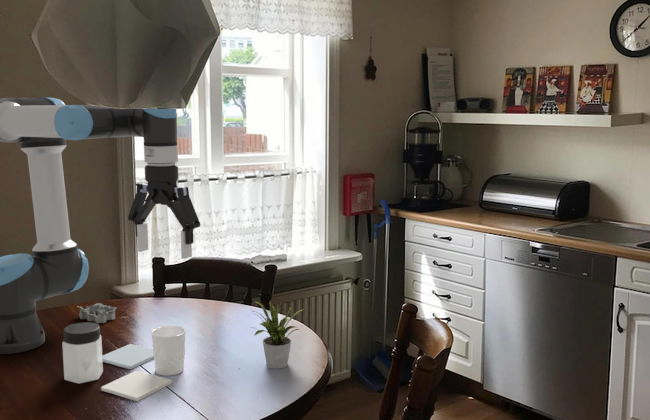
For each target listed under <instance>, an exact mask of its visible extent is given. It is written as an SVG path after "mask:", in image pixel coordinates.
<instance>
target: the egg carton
mask: <svg viewBox="0 0 650 420" xmlns="http://www.w3.org/2000/svg"><path fill="white" fill-rule="evenodd" d="M76 308H78V309H79V314H78V316H79V319H80V320H86V322H94V323H95V324H106V323H107V321H112V320H115V319H116V310H117V308H118V307H115V306H110V305H106V304H105V305H104V304H103V303H101V302H97V303H95V304H91V305H90V306H88V305H86V307H85V308H83V307H82V306H80V305H76Z"/></svg>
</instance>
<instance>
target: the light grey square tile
mask: <svg viewBox="0 0 650 420" xmlns="http://www.w3.org/2000/svg"><path fill="white" fill-rule="evenodd" d="M102 359H103V363H106V364H110V365H113V366H117V367H120V368H124V369H127V370H133V369H134V368H136V367H139V366H140V365H144V364H145V363H147V362H150V361H151V360H154V353H153V348H149V347H144V346H141V345H138V344H137V345H136V344H132V343H129V344H127V345H125V346H122V347H119V348H117V349H115V350H112V351H110V352H108V353H105V354H102Z"/></svg>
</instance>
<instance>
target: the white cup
mask: <svg viewBox="0 0 650 420" xmlns="http://www.w3.org/2000/svg"><path fill="white" fill-rule="evenodd" d="M151 340H152V342H151V343H152V349H153V353H154V359H153V360H154V368H155V373H156V374H158V375H160V376H163V377H165V376H166V377H170V376H176V375H178V374H181V373H183V372H184V367H185V352H186V351H185V350H186V329H185V328H184V327H182V326H179V325H165V326H160V327H156V328H154V329H153V330H152V331H151Z"/></svg>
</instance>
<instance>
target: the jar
mask: <svg viewBox="0 0 650 420" xmlns="http://www.w3.org/2000/svg"><path fill="white" fill-rule="evenodd" d="M62 330H63V331H62V333H63V334H62V335H63V341H62V343H61V344H62V346H61V347H62V360H63V376H64V377H63V379H64V380H65V381H67V382H71V383H75V384H85V383H89V382H94V381H97V380H99V379H100V377H101V376H102V374H103V372H104V366H103V365H104V364H103V363H104V362H103V359H102V356H103V344H102V343H103V342H102V335H101V328H100V325H99V323H95V322H90V321H86V322H77V323H72V324H70V325H67V326H65V327H64V328H63V329H62Z"/></svg>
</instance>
